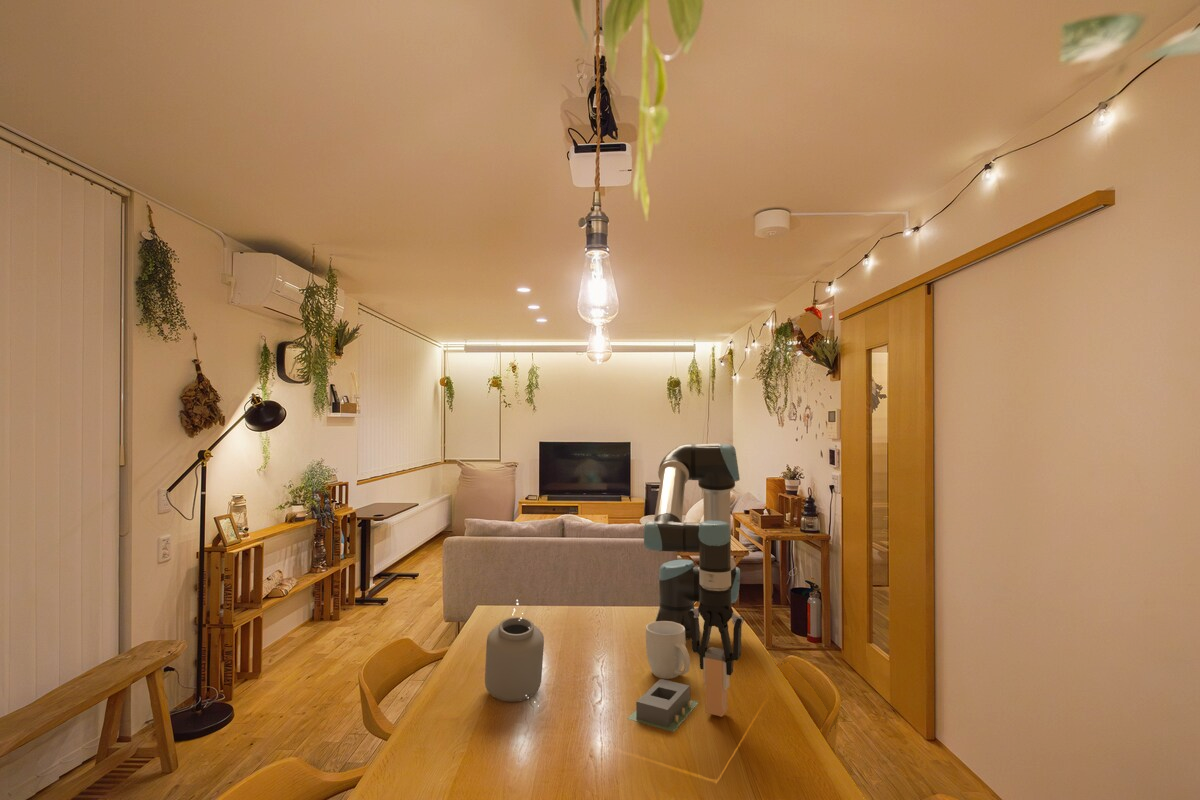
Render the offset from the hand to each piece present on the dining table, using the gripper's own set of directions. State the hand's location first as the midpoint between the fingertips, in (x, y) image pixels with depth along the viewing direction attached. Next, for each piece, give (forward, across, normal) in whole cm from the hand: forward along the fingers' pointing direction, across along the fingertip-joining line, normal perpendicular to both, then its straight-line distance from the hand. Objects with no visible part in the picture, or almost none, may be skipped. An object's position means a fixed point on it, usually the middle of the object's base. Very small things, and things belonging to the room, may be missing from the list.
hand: (716, 685), depth 138 cm
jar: (+8, -49, -15) cm, 52 cm away
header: (+8, -12, -4) cm, 15 cm away
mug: (+8, -19, +15) cm, 25 cm away
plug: (+6, 0, 0) cm, 6 cm away
